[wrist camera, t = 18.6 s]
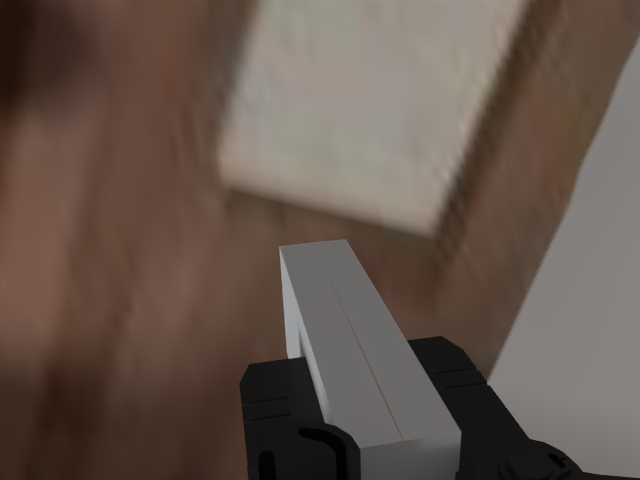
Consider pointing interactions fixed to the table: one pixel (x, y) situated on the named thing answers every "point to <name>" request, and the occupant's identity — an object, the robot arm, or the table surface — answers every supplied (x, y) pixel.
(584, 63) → the table surface
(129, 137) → the table surface
